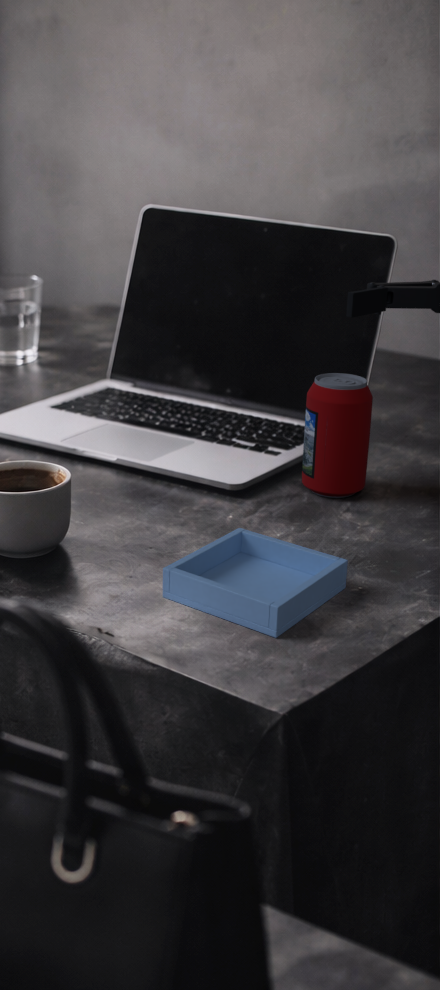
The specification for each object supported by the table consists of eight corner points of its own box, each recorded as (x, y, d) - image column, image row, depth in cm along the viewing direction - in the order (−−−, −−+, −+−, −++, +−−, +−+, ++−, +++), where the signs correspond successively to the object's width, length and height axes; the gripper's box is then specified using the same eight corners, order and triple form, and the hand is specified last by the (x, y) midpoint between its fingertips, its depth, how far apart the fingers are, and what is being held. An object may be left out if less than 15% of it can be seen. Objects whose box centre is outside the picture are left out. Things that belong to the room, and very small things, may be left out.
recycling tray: (345, 588, 82) (348, 559, 81) (276, 638, 73) (277, 607, 72) (238, 554, 87) (239, 527, 87) (162, 597, 79) (162, 568, 78)
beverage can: (314, 475, 108) (321, 368, 104) (373, 485, 105) (382, 376, 101) (291, 493, 102) (297, 381, 98) (352, 505, 100) (362, 391, 95)
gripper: (595, 342, 112) (501, 371, 97) (411, 309, 128) (308, 330, 113) (606, 275, 109) (511, 295, 95) (417, 250, 125) (312, 264, 111)
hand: (400, 314), depth 104 cm, fingers open, 13 cm apart
